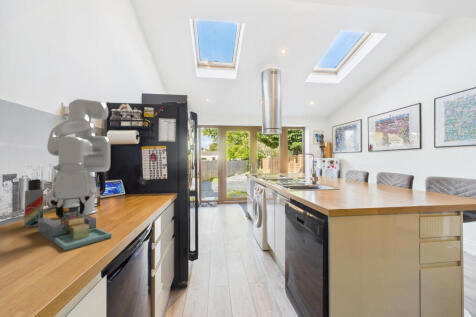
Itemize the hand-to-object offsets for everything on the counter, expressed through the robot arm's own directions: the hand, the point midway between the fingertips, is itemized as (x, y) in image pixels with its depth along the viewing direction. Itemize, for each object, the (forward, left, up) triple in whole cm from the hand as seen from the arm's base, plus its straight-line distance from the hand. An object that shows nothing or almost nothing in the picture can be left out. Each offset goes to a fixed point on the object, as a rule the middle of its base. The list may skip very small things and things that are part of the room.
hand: (70, 214), depth 77 cm
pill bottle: (0, 0, -4) cm, 4 cm away
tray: (+13, 0, -7) cm, 15 cm away
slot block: (-4, 0, -7) cm, 8 cm away
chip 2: (+8, 0, -5) cm, 9 cm away
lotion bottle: (-25, -6, -7) cm, 27 cm away
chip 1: (+5, 0, -4) cm, 6 cm away
